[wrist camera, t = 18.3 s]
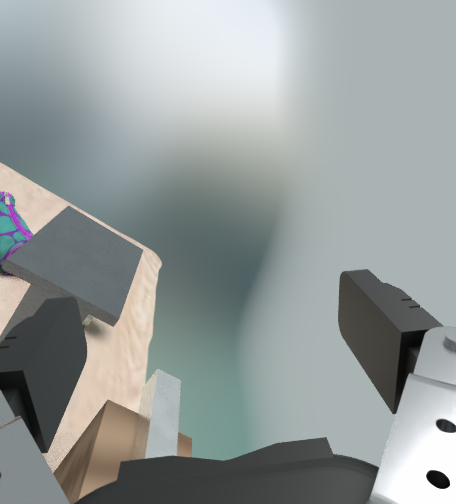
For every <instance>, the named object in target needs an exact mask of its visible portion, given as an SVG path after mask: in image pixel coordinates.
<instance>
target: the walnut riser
mask: <svg viewBox="0 0 456 504" xmlns="http://www.w3.org/2000/svg"><path fill="white" fill-rule="evenodd" d="M137 420H138V413H136V412H134V411H131V410H129V409H127V408H125V407H123V406H121V405H118V404H116V403H114V402H112V401H110V400H107V401H106V403H105V404H104V406H103V407H102V408H101V410H100V411H99V412H98V414H97V415H96V416H95V418H94V419H93V420H92V422H91V423H90V424H89V426H88V427H87V428H86V430H85V431H84V433H83V434H82V435H81V437H80V438H79V439H78V441H77V442H76V443H75V445H74V446H73V447H72V449H71V450H70V451H69V453H68V454H67V455H66V457H65V458H64V460H63V461H62V462H61V464H60V465H59V466H58V468H57V469H56V470H55V472H54V473H53V474H54V476H55V478H56V480H57V482H58V483H59V485H60V487H61V489H62V490H63V492H64V494H65V496H66V497H67V499H68V501H69V503H70V504H73V503H75V502H76V501H78V500H79V499H80V498H82V497H83V496H85V495H86V494H88V493H90V492H92V491H93V490H95V489H97V488H99V487H101V486H103V485H105V484H108V483H110V482H113V481H115V480H117V477H118V472H119V467H120V462H121V461H129V460H130V458H131V453H132V447H133V442H134V436H135V431H136V425H137ZM191 451H192V438H190V437H187V436H185V435H183V434H181V433H179V432H178V441H177V456H183V457H191V453H192V452H191Z"/></svg>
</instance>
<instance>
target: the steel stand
mask: <svg viewBox="0 0 456 504" xmlns="http://www.w3.org/2000/svg"><path fill="white" fill-rule="evenodd" d="M142 252H143V250H142V249H141V248H139V247H137V246H136V245H134V244H132V243H131V242H129V241H127V240H126V239H124V238H122V237H121V236H119V235H117V234H115V233H114V232H112V231H110V230H109V229H107V228H105V227H104V226H102V225H100V224H99V223H97V222H95V221H94V220H92V219H90V218H89V217H87V216H85V215H84V214H82V213H80V212H79V211H77V210H75V209H73V208H72V207H70V206H67V207H66V208H65V209H64V210H63V211H62V212H60V213H59V214H58V215H57V216H56V217H55V218H53V219H52V220H51V221H50V222H49V223H48V224H46V225H45V226H44V227H43V228H42V229H41V230H39V231H38V232H37V233H36V234H35V235H34V236H32V237H31V238H30V239H29V240H28V241H27V242H25V243H24V244H23V245H22V246H21V247H20V248H18V249H17V250H16V251H15V252H14V253H13V254H11V255H10V256H9V257H8V258H7V259H6V260H5V262H4V264H3V266H2V268H1V269H3V270H5V271H7V272H9V273H11V274H13V275H15V276H17V277H19V278H21V279H23V280H24V281H26V282H28V283H30V284H31V285H30V287H29V288H28V290H27V292H26V293H25V295H24V297H23V299H22V300H21V302H20V304H19V305H18V307H17V309H16V310H15V312H14V314H13V315H12V317H11V319H10V320H9V322H8V324H7V325H6V327H5V329H4V330H3V332H2V334H1V336H0V342H1V341H2V340H4V338H5V336H6V335H7V334H8V333H9V332H10V330H11V329H12V328H13V327H14V326H15V325H17V324H18V323H20V322H21V321H23V320H24V319H26V318H27V317H31V316H33V315H34V314H35V313H36V311H37V310H38V309H39V307H40V306H41V305H42V304H43V302H44V301H45V300H46V299H49V298H60V297H70V296H73V297H75V298H76V300H77V303H78V306H79V311H80V315H81V320H82V323H83V322H84V320H85V319H86V317H87V316H88V314H90V315H92V316H93V317H95V318H97V319H99V320H101V321H103V322H105V323H107V324H109V325H111V326H113V327H114V325H115V324H116V323H117V321H118V320H119V318H120V315H121V312H122V309H123V306H124V304H125V301H126V298H127V295H128V292H129V289H130V286H131V284H132V281H133V278H134V275H135V272H136V269H137V266H138V264H139V261H140V258H141V255H142Z"/></svg>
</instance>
